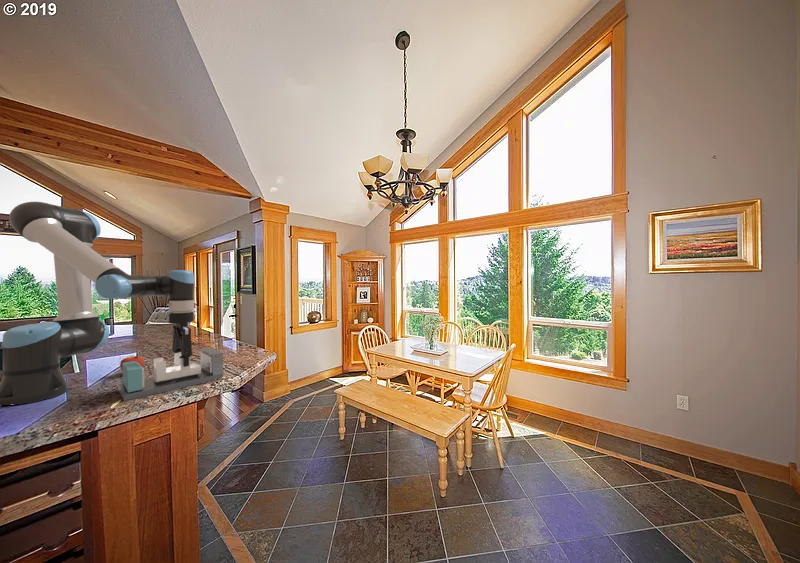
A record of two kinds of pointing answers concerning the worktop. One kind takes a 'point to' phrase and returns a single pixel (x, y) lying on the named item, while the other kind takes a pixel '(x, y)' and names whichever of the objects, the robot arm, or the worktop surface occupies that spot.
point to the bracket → (171, 370)
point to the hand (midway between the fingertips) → (181, 372)
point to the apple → (133, 358)
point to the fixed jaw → (211, 361)
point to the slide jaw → (133, 376)
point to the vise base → (166, 385)
